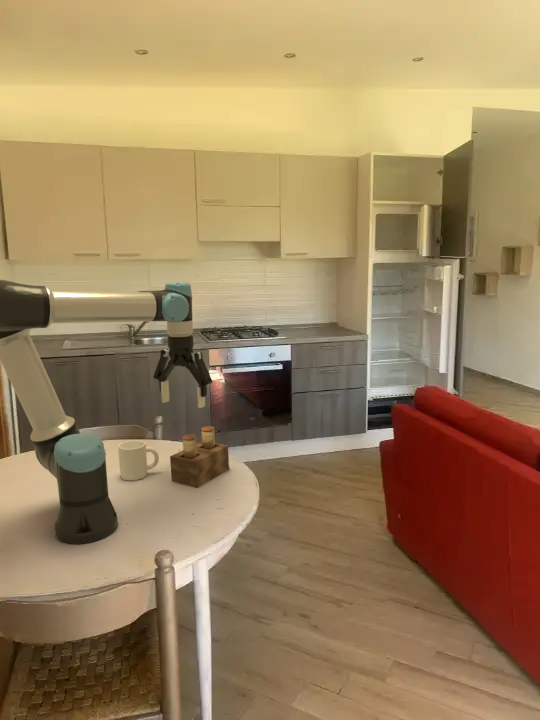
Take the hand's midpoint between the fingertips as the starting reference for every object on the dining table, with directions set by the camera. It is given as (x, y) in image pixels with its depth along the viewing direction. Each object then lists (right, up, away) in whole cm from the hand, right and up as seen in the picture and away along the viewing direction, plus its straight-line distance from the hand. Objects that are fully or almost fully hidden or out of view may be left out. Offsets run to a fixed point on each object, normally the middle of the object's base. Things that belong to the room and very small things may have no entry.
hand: (183, 404), depth 167 cm
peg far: (+7, -15, +7) cm, 18 cm away
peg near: (+2, -17, 0) cm, 17 cm away
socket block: (+5, -22, +5) cm, 23 cm away
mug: (-14, -23, +6) cm, 28 cm away
